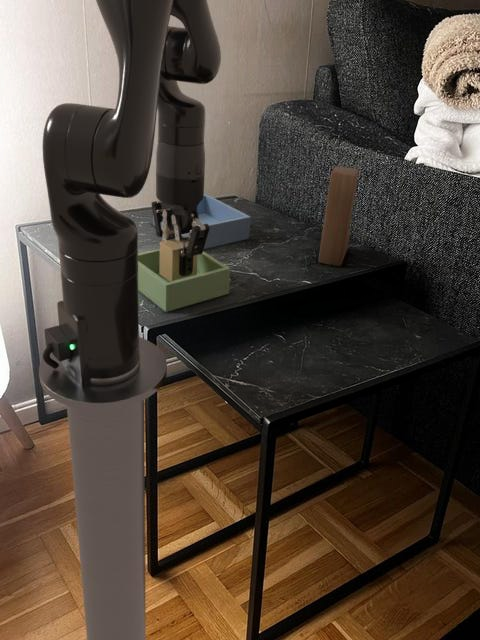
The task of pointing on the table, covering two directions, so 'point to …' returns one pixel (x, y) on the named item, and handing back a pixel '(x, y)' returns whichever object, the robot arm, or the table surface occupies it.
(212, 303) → the table surface
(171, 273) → the block
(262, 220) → the table surface
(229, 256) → the table surface
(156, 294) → the green tote
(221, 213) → the blue tote
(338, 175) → the wooden block
